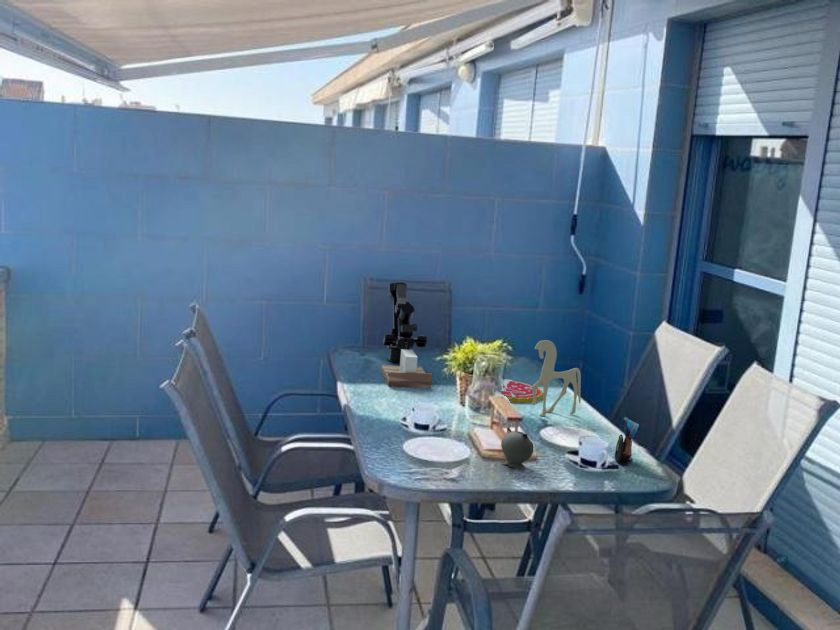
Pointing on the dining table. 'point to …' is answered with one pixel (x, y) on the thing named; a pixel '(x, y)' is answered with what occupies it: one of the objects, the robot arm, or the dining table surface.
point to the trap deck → (406, 377)
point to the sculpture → (554, 376)
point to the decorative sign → (519, 392)
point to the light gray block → (408, 361)
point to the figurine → (626, 443)
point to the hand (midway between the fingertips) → (406, 356)
